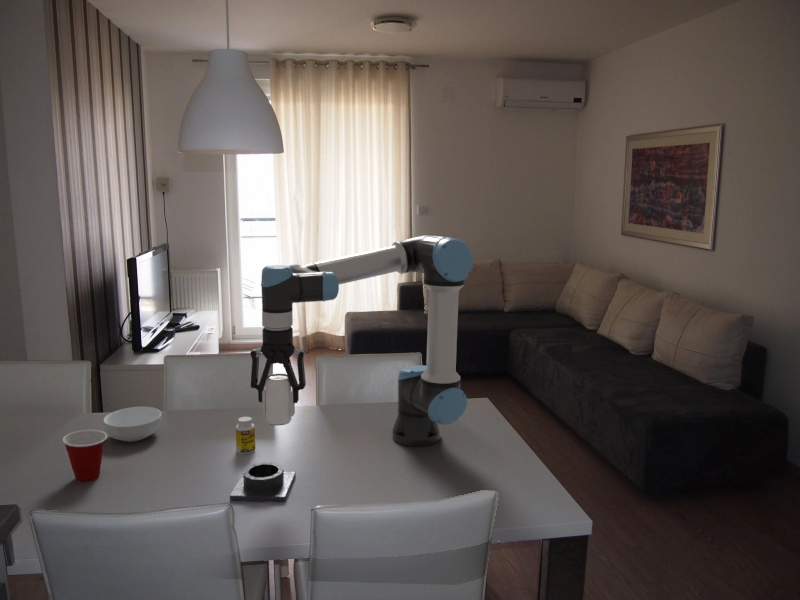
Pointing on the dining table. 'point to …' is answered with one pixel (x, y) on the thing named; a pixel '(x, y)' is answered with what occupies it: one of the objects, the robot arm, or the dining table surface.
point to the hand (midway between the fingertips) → (278, 414)
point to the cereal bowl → (132, 423)
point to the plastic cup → (85, 453)
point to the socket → (263, 484)
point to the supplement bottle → (245, 436)
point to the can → (278, 399)
